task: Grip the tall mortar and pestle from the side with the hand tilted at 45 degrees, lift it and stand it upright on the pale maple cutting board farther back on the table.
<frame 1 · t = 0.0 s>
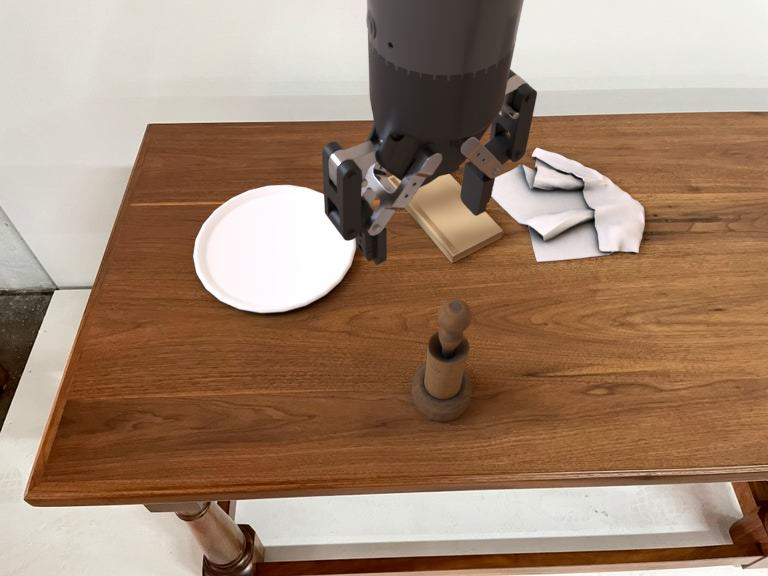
hand: (424, 230, 44), 28 cm above the table, tool pointing down, fingers open, 8 cm apart
plate: (276, 249, 78), on the table
cutting board: (441, 210, 82), on the table
cloth: (561, 204, 83), on the table
mortar and pestle: (440, 394, 67), on the table
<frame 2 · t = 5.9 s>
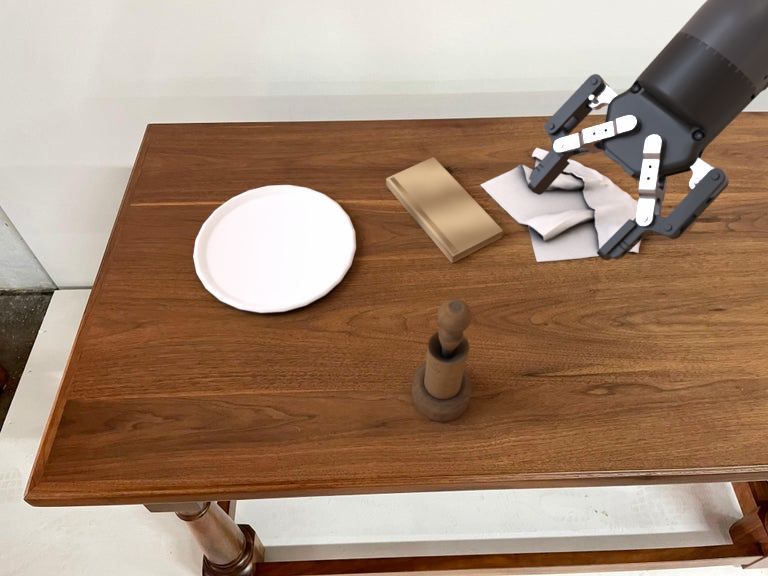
hand: (566, 223, 51), 22 cm above the table, tool tilted 45°, fingers open, 8 cm apart
nothing on the table moved.
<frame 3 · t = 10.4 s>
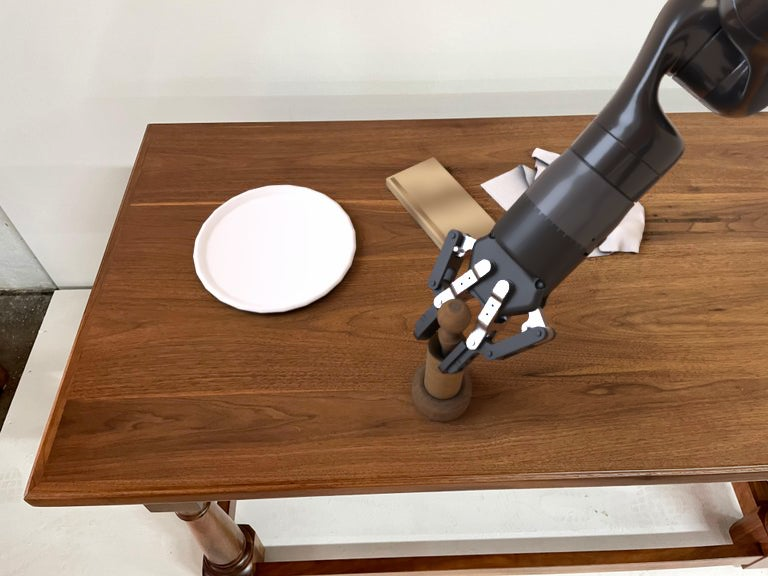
hand: (432, 353, 57), 12 cm above the table, tool tilted 45°, fingers closed on mortar and pestle, 3 cm apart
mortar and pestle: (440, 394, 67), on the table, touching gripper
everything else where it was.
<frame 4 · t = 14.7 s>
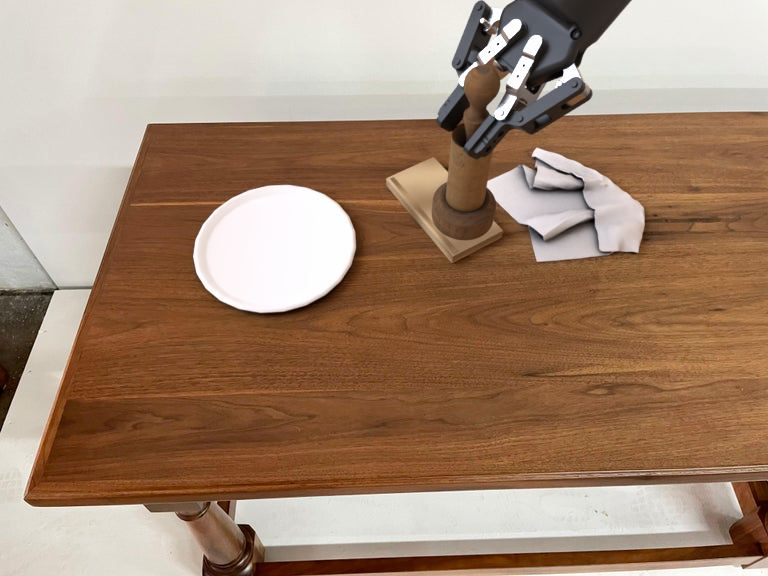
hand: (456, 140, 53), 25 cm above the table, tool tilted 45°, fingers closed on mortar and pestle, 3 cm apart
mortar and pestle: (462, 217, 63), point 13 cm above the table, touching gripper
everything else where it was.
when the fingers open (13 cm above the table, at t = 19.3 s): mortar and pestle stays where it is, resting on cutting board.
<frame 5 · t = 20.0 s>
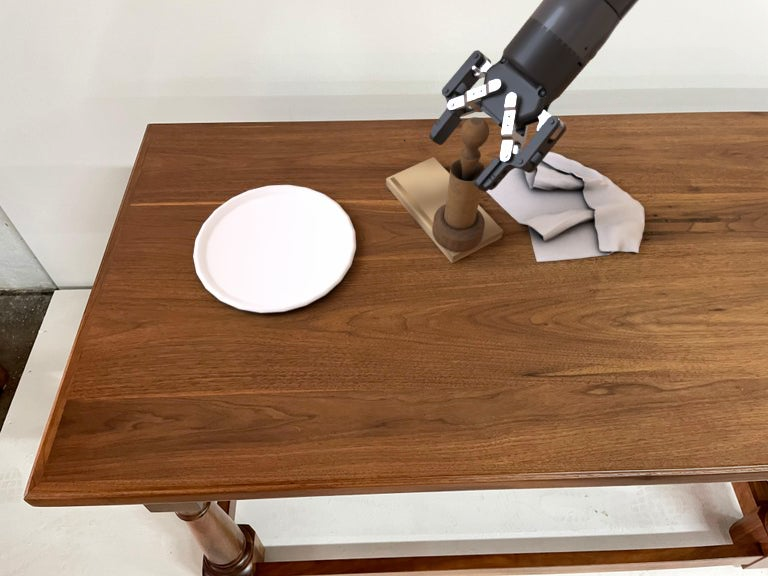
hand: (456, 164, 67), 14 cm above the table, tool tilted 45°, fingers open, 8 cm apart
mortar and pestle: (457, 233, 78), point 1 cm above the table, touching cutting board
everything else where it was.
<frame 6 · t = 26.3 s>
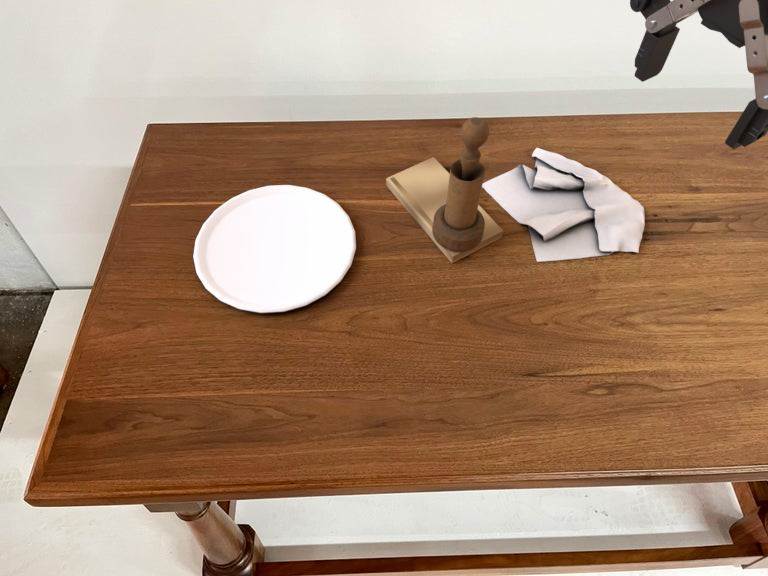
hand: (690, 108, 43), 33 cm above the table, tool pointing down, fingers open, 8 cm apart
nothing on the table moved.
at the end: mortar and pestle inside the target area on the cutting board (5.3 cm from its centre), point 1.4 cm above the cutting board's base; mortar and pestle tilted 1°; the gripper is holding nothing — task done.
